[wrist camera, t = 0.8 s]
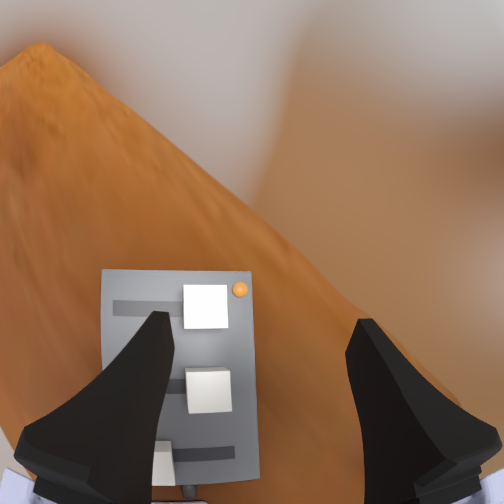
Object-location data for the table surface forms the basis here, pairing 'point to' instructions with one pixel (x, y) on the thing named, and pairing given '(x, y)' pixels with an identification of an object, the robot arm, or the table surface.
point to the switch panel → (193, 356)
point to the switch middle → (208, 390)
